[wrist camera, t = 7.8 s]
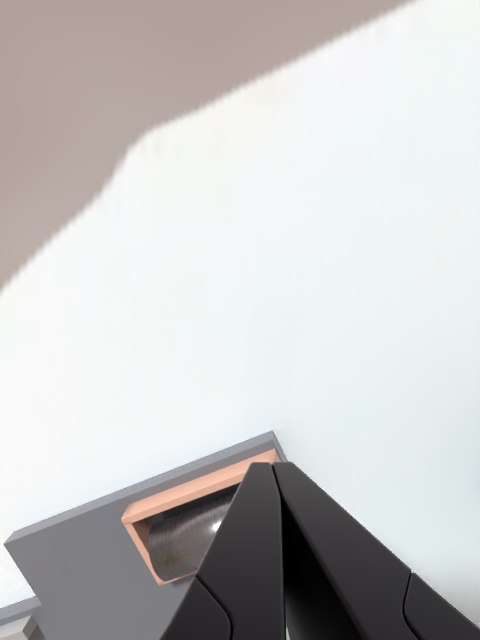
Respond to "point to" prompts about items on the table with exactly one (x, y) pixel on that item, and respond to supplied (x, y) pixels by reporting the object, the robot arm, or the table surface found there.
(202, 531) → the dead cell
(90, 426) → the table surface
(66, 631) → the checker
